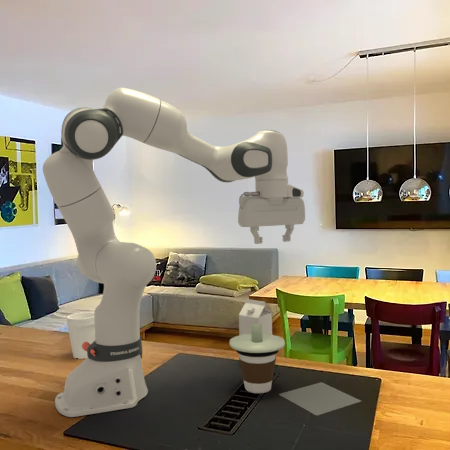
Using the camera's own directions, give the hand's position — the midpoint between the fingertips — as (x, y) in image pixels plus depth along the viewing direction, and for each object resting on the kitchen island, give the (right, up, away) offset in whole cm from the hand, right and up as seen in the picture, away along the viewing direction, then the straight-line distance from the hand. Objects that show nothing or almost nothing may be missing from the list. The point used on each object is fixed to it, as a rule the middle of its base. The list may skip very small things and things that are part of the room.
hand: (272, 242), depth 127 cm
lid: (-5, -26, -8) cm, 27 cm away
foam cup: (-59, -38, +24) cm, 73 cm away
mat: (+10, -38, -14) cm, 41 cm away
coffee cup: (-5, -38, -7) cm, 39 cm away
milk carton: (-4, -37, +13) cm, 39 cm away
